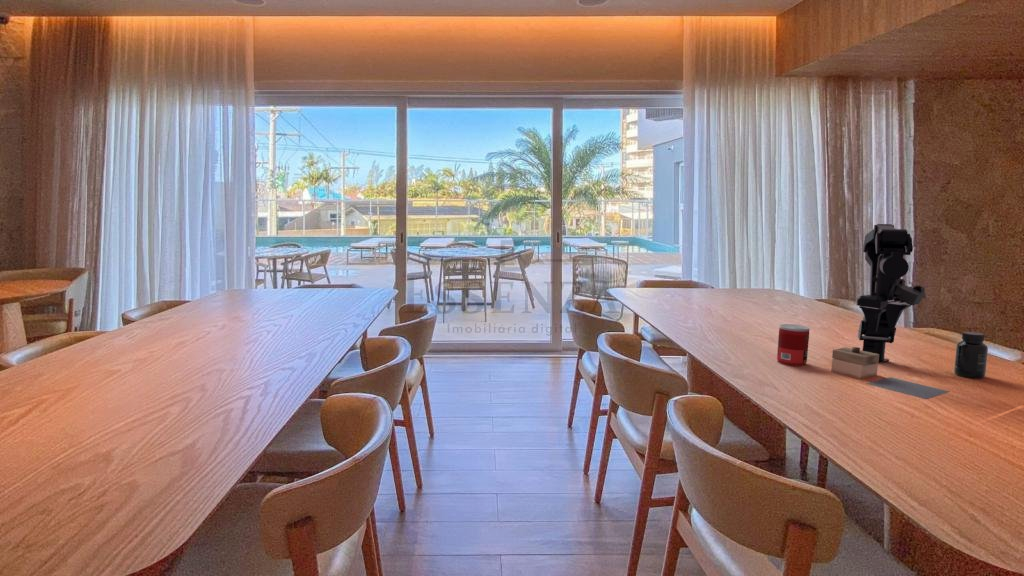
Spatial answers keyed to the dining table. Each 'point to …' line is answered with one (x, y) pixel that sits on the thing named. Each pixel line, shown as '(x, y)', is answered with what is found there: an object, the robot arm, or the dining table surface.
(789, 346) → the canned food
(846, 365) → the tan box
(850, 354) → the lid
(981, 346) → the supplement bottle
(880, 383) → the mat
